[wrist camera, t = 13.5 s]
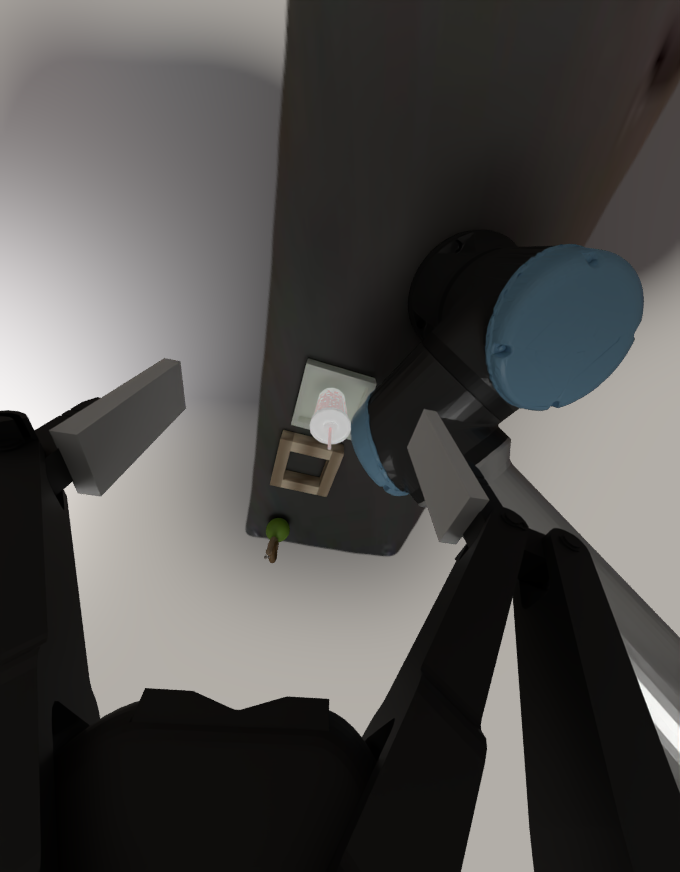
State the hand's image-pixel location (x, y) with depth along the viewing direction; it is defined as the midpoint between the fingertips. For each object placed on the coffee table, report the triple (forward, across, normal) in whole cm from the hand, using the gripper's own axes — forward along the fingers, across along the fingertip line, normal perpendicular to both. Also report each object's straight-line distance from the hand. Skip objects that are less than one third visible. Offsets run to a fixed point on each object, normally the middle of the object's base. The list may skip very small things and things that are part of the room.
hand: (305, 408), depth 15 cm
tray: (+30, +4, -14) cm, 34 cm away
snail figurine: (+30, -3, -49) cm, 57 cm away
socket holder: (+30, +1, -29) cm, 42 cm away
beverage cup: (+30, +4, -14) cm, 33 cm away
